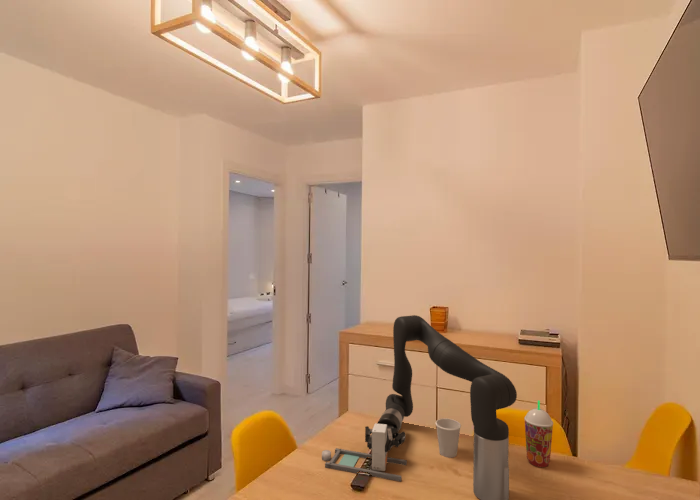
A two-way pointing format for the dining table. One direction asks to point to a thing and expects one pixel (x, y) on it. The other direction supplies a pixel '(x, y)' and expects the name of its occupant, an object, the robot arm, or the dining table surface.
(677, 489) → the dining table surface
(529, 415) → the smoothie
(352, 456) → the guide channel
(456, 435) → the dixie cup
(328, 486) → the dining table surface
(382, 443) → the skincare box
